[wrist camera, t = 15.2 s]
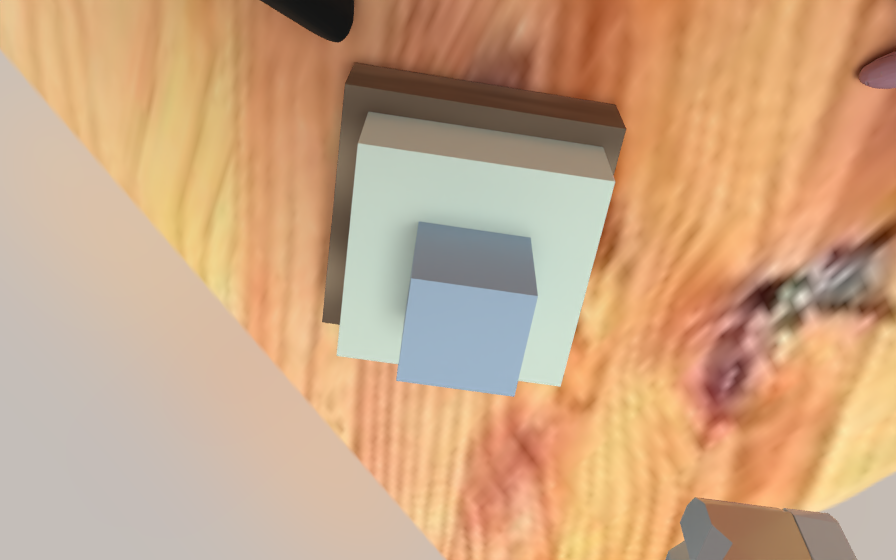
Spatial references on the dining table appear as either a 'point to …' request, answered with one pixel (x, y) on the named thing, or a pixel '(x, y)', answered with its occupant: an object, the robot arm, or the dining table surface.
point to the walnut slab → (458, 107)
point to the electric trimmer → (319, 16)
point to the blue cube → (468, 309)
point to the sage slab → (470, 225)
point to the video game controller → (880, 72)
